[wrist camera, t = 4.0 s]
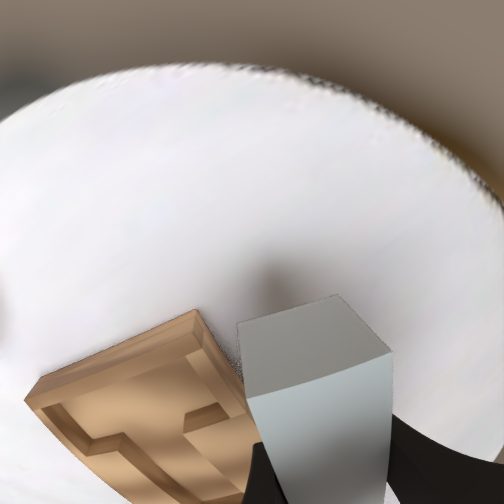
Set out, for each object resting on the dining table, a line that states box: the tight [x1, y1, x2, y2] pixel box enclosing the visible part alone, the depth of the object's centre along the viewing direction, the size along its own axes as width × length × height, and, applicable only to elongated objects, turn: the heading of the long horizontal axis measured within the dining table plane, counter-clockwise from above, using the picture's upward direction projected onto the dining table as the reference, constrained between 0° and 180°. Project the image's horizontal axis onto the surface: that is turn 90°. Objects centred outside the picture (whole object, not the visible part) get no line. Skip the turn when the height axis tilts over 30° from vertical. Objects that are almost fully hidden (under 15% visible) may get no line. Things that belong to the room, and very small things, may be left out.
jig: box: [24, 309, 262, 504], centre depth 19 cm, size 18×14×3 cm
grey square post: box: [237, 294, 393, 504], centre depth 10 cm, size 4×10×4 cm, turn 14°
